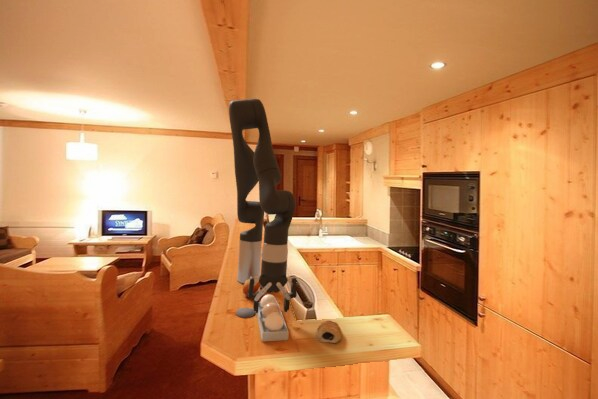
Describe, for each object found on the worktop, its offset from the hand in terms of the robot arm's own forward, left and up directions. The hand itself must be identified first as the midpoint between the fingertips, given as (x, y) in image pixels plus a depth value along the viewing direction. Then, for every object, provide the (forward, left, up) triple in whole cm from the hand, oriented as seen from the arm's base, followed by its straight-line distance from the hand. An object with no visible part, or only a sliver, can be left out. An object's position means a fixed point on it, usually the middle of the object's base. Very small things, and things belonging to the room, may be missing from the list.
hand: (271, 311), depth 86 cm
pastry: (+9, +15, -4) cm, 18 cm away
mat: (-7, -7, -4) cm, 10 cm away
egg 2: (+6, 0, 0) cm, 6 cm away
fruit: (-21, -4, -4) cm, 22 cm away
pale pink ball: (0, 0, 0) cm, 0 cm away
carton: (0, 0, -4) cm, 4 cm away
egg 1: (-6, 0, 0) cm, 6 cm away
